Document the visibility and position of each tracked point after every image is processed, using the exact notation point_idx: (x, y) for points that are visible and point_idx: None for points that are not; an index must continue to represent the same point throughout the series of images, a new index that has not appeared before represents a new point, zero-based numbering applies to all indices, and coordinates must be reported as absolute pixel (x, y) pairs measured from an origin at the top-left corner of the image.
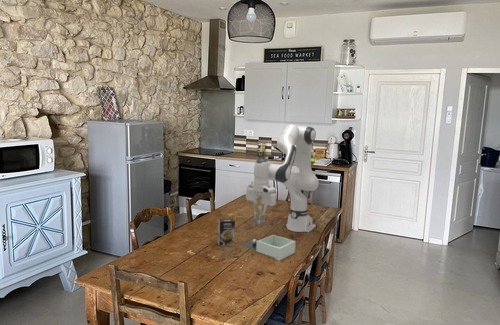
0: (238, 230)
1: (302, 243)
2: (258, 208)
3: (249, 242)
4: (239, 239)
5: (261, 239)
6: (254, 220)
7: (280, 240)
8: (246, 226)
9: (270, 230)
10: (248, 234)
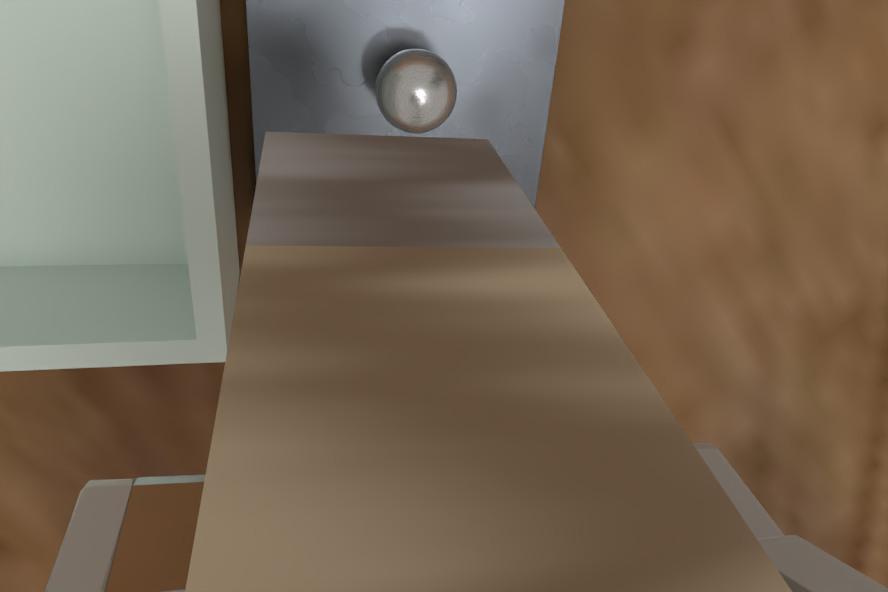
0: (831, 357)
1: (37, 548)
2: (399, 449)
3: (515, 105)
4: (702, 144)
5: (188, 17)
6: (479, 159)
7: (51, 317)
8: (799, 487)
9: None
10: (682, 344)
